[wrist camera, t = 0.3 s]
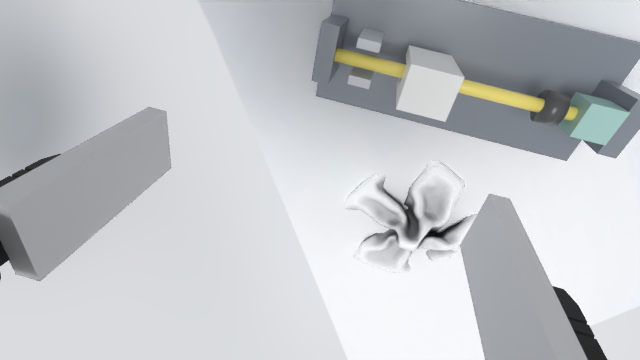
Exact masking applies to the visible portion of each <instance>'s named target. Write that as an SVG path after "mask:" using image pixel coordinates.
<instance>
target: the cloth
mask: <svg viewBox="0 0 640 360" xmlns="http://www.w3.org/2000/svg"><path fill="white" fill-rule="evenodd" d="M384 181H385V176H384V174H380V173H375V174H374V175H372V176H370V177H368V178H367V179H366V180H365V181H364V182H363V183H362V184H361V185H360V186H359V187H358V188H356V189H355V190H354V191H353V192H352V193H351V194H350V195H349V196H348V197H347V198H346V200H345V202H344V207H345V208H346V209H350V210H361V211H363V212H364V213H366V214H367V215H369V216H370V217H372V218H373V219H374V220H375V221H377V222H378V223H379V224H381V225H383V226H384V227H387V228H390V230H388V231H387V232H385V233H376V234H374V235H373V236H371V237H370V238H368V239H367V240H366V241H363V242H362V243H361V245H360V247H359V248H358V249H357V250H356V251H355V252H354V253H353V257H354V258H355V259H357V260H359V261H361V262H362V263H364V264H366V265H369V266H372V267H375V268H378V269H381V270H385V271H389V272H393V273H405V272H408V271H410V269H411V268H410V266H409V264H408V259H409V257H410V256H411V254H412V251H414V250H418V249H421V248H423V249H430V250H428V251H427V252H426V255H427V256H428V258H429V259H430V260H432V261H433V260H438V259H443V258H448V257H451V256H452V255H454V254H455V253H456V252H457V251H453V250H452V249H454V248H456V247H458V246H459V245H460V244H461V242H462V241H463V239H464V237H465V235H466V234H467V232H468V230H469V228H470V227H471V225H472V223H473V221H474V220H475V218H476V216H477V215H478V214H474V215H471V216H468V217H466V218H464V219H463V220H462V221H461V222H460V223H459V224H458V225H456V226H454V227H452V228H450V229H448V230H447V231H444V232H442V233H436V231H438V230H439V229H440V228H442V227H443V226H444V225H445V224H446V223H447V222H448V220H449V218H450V217H451V214H452V211H453V209H454V206H455V204H456V202H457V200H458V198H459V195H460V194H461V192H462V190H463V188H464V187H465V184H464V181H463V180H462V179H460V178H459V177H458V176H457V175H456V174H455V173H453V172H452V171H451V170H450V169H449V168H447V167H446V166H445V165H443V164H442V163H441V162H439V161H437V160H432V161H429V162H428V165H427V166H426V168H425V169H424V171H423V173H422V174H421V175H420V176H419V177H418V178H417V180H416V181H415V182H414V183H413V184H412V186H411V187H410V189H409V193H408V198H407V199H406V201H405V203H404V204H405V205H406V206H408V209H407V210H404V209H403V208H402V206H401V205H400V204H399V203H398V202H396V201H395V200H394V199H393V198H392V197H390V196H389V195H388V194H387V193H386V191H385V189H384V188H383V184H384Z"/></svg>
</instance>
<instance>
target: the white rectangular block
mask: <svg viewBox="0 0 640 360" xmlns="http://www.w3.org/2000/svg"><path fill="white" fill-rule="evenodd" d="M464 78H465V77H464V75H463V74H462V72H461V70H460V69H459V67H458V65H457V64H456V62H455V60H454V59H453V57H452V56H451V55H447V54H443V53H439V52H435V51H431V50H427V49H423V48H419V47H415V46H410V45H409V47H408V50H407V53H406V67H405V70H404V73H403V76H402V78H398V81H397V90H396V109H397V110H401V111H405V112H408V113H412V114H416V115H420V116H424V117H428V118H432V119H436V120H439V121H443V122H445V121H446V119H447V117H448V115H449V112H450V110H451V108H452V105H453V103H454V101H455V99H456V96H457V94H458V92H459V89H460V87H461V85H462V83H463V80H464Z"/></svg>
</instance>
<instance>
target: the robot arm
mask: <svg viewBox="0 0 640 360" xmlns="http://www.w3.org/2000/svg"><path fill="white" fill-rule="evenodd" d="M169 169H171V159H170V148H169V137H168V125H167V114H166V111H163V110H159V109H155V108H151V107H148V108H146V109H144V110H142V111H140V112H138V113H137V114H135V115H133V116H131V117H129V118H127V119H125V120H124V121H122V122H120V123H118V124H116V125H114V126H113V127H111V128H109V129H107V130H105V131H103V132H101V133H100V134H98V135H96V136H94V137H92V138H91V139H89V140H87V141H85V142H83V143H81V144H80V145H78V146H76V147H74V148H72V149H70V150H68V151H66V152H65V153H63V154H58V155H54V156H51V157H47V158H44V159H41V160H39V161H37V162H35V163H33V164H31V165H29V166H27V167H26V168H25V170H23V169H22V170H20V171H18V172H16V173H14V174H13V175H12V177H10V176H9V177H7V178H5V179H3V180H1V181H0V266H1V265H3V264H4V263H5V262H7V261H8V260H9V261H10V263H11V265H12V267H13V269H14V271H15V273H16V274H17V275H20V276H24V277H27V278H30V279H34V280H37V281H41V280H42V279H43V278H45V277H46V276H47V275H48V274H49V273H50V272H51V271H53V270H54V269H55V268H56V267H57V266H58V265H59V264H61V263H62V262H63V261H64V260H65V259H66V258H68V257H69V256H70V255H71V254H72V253H73V252H75V251H76V250H77V249H78V248H79V247H80V246H81V245H83V244H84V243H85V242H86V241H87V240H88V239H90V238H91V237H92V236H93V235H94V234H95V233H97V232H98V231H99V230H100V229H101V228H102V227H104V226H105V225H106V224H107V223H108V222H109V221H110V220H111V219H113V218H114V217H115V216H116V215H117V214H118V213H120V212H121V211H122V210H123V209H124V208H125V207H127V206H128V205H129V204H130V203H131V202H132V201H134V200H135V199H136V198H137V197H138V196H139V195H141V194H142V193H143V192H144V191H145V190H146V189H147V188H149V187H150V186H151V185H152V184H153V183H154V182H155V181H157V180H158V179H159V178H160V177H161V176H163V175H164V174H165V173H166V172H167V171H168V170H169ZM460 248H461V252H462V257H463V261H464V266H465V270H466V275H467V279H468V284H469V288H470V293H471V297H472V302H473V306H474V311H475V315H476V320H477V324H478V329H479V334H480V338H481V343H482V347H483V352H484V356H485V360H607V358H606V356H605V355H604V353H603V351H602V349H601V347H600V345H599V343H598V342H597V340H596V339H594V334H593V332H592V330H591V328H590V326H589V325H587V321H586V319H585V317H584V315H583V313H582V311H581V310H580V308H579V306H578V305H577V303H576V302H575V301H574V300H573V299H572V298H571V297H570V296H569V295H568V293H567V292H566V291H565V290H564V289H561V288H557V287H553V286H552V285H551V283H550V281H549V279H548V277H547V275H546V273H545V271H544V268H543V266H542V264H541V262H540V260H539V258H538V256H537V254H536V252H535V250H534V248H533V246H532V244H531V242H530V240H529V237H528V235H527V233H526V231H525V229H524V227H523V225H522V223H521V221H520V219H519V217H518V215H517V213H516V211H515V209H514V207H513V204H512V202H511V200H510V199H508V198H505V197H501V196H497V195H493V194H489V195H488V197H487V199H486V201H485V202H484V204H483V206H482V208H481V209H480V211H479V213H478V215H477V216H476V218H475V220H474V221H473V223H472V225H471V227H470V228H469V230H468V232H467V234H466V235H465V237H464V239H463V241H462V242H461V244H460ZM0 279H1V274H0Z"/></svg>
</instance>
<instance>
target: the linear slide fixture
mask: <svg viewBox="0 0 640 360" xmlns="http://www.w3.org/2000/svg"><path fill="white" fill-rule="evenodd" d="M409 45H410V46H415V47H419V48H423V49H427V50H431V51H435V52H439V53H443V54H447V55H451V56H452V57H453V59H454V60H455V62H456V64H457V65H458V67H459V69H460V70H461V72H462V74H463V75H464V77H465V78H464V80H463V83H462V85H461V87H460V89H459V92H458V94H457V96H456V99H455V101H454V103H453V105H452V108H451V110H450V112H449V115H448V117H447V119H446V121H445V122H443V121H439V120H436V119H432V118H428V117H424V116H420V115H416V114H412V113H408V112H405V111H401V110H397V109H396V90H397V81H398V78H402V76H403V73H404V70H405V67H406V53H407V50H408V47H409ZM639 59H640V43H639V42H635V41H631V40H627V39H622V38H618V37H614V36H609V35H605V34H601V33H597V32H592V31H588V30H584V29H580V28H575V27H571V26H567V25H563V24H558V23H554V22H550V21H545V20H541V19H537V18H533V17H528V16H524V15H520V14H516V13H511V12H507V11H503V10H498V9H494V8H490V7H486V6H481V5H477V4H473V3H469V2H464V1H460V0H334V2H333V7H332V13H331V16H330V17H329V18H327V19H326V20H324V21H323V22H322V24H321V29H320V35H319V41H318V46H317V52H316V58H315V63H314V69H313V75H312V81H316V82H318V87H317V92H316V96H318V97H322V98H326V99H330V100H334V101H337V102H341V103H345V104H349V105H353V106H357V107H361V108H364V109H368V110H372V111H376V112H380V113H384V114H388V115H391V116H395V117H399V118H403V119H407V120H411V121H415V122H418V123H422V124H426V125H430V126H434V127H438V128H441V129H445V130H449V131H453V132H457V133H461V134H465V135H468V136H472V137H476V138H480V139H484V140H488V141H492V142H495V143H499V144H503V145H507V146H511V147H515V148H519V149H522V150H526V151H530V152H534V153H538V154H542V155H545V156H549V157H553V158H557V159H561V160H565V161H567V160H568V158H569V157H570V155H571V154H572V153H573V151H574V150H575V148H576V147H577V146H578V144H579V143H580V141H581V140H583V141H584V142H585V143H586V144H587V145H589V146H590V147H591V148H592V149H593V150H594V151H595V152H596V153H597V154H601V155H605V156H608V157H612V158H617V156H618V155H619V154H620V153H621V151H622V150H623V149H624V148H625V146H626V145H627V144H628V143H629V141H630V140H631V139H632V138H633V136H634V135H635V134H636V133H637V131H638V130H639V129H640V94H638V93H636V92H634V91H632V90H630V89H628V88H626V87H624V86H622V85H621V84H622V82H623V81H624V80H625V78H626V77H627V75H628V74H629V73H630V71H631V70H632V68H633V67H634V66H635V64H636V63H637V61H638V60H639Z"/></svg>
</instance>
